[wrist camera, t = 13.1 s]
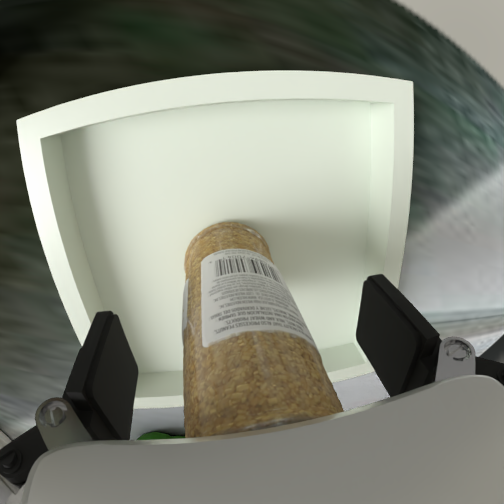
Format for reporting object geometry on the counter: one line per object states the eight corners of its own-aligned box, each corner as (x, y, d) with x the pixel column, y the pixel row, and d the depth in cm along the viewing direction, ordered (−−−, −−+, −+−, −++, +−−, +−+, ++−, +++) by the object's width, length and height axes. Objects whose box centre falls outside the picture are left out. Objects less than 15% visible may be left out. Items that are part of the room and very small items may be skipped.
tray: (361, 343, 22) (377, 370, 19) (122, 377, 20) (116, 409, 17) (380, 83, 14) (412, 81, 11) (45, 117, 12) (16, 120, 10)
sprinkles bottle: (170, 277, 16) (156, 551, 4) (209, 203, 15) (255, 512, 3) (244, 307, 18) (307, 548, 6) (287, 242, 16) (430, 485, 4)
